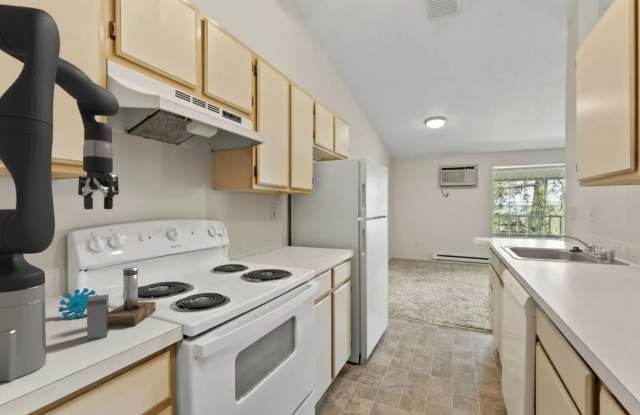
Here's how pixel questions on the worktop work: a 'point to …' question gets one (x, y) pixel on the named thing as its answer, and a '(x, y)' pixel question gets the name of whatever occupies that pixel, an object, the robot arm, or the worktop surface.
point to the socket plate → (131, 314)
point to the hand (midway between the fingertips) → (98, 209)
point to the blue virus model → (76, 303)
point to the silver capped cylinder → (130, 288)
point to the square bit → (97, 317)
